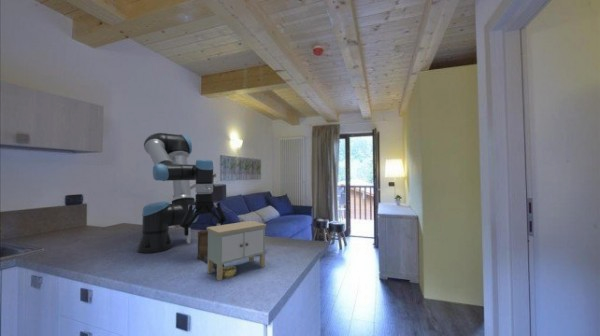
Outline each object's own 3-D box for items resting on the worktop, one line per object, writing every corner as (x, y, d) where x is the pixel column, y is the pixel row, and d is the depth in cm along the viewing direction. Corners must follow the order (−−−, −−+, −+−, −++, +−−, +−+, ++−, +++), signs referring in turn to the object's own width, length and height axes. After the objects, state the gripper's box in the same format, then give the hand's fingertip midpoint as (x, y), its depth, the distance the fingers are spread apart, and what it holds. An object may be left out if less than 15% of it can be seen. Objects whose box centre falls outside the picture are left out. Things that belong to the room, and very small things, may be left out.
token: (217, 275, 92) (216, 268, 92) (231, 270, 97) (231, 264, 97) (224, 280, 88) (224, 273, 88) (239, 274, 93) (239, 268, 93)
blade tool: (197, 257, 111) (197, 231, 111) (206, 255, 113) (206, 230, 114) (215, 270, 96) (215, 240, 96) (224, 268, 99) (225, 238, 99)
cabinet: (205, 272, 95) (206, 227, 95) (252, 259, 109) (252, 220, 109) (218, 282, 86) (219, 232, 86) (267, 267, 100) (267, 224, 100)
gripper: (177, 195, 100) (177, 247, 99) (233, 192, 117) (233, 236, 116) (172, 194, 105) (171, 243, 105) (226, 191, 122) (226, 233, 122)
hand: (204, 239), depth 110 cm, fingers open, 13 cm apart
